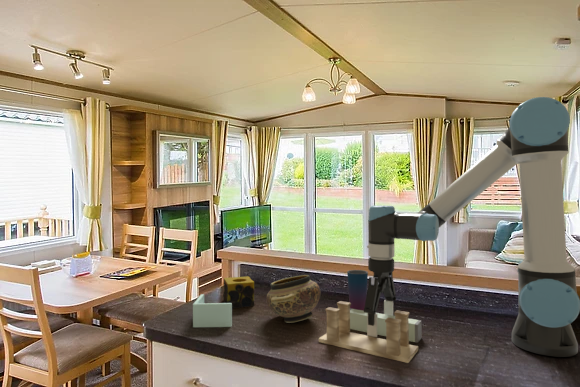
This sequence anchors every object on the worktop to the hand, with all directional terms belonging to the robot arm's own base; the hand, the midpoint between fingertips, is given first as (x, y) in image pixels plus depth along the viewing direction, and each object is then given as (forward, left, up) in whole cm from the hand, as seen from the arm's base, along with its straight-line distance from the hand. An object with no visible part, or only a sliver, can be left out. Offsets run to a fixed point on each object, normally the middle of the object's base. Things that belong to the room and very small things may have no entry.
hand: (380, 328), depth 114 cm
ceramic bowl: (+28, +5, -1) cm, 28 cm away
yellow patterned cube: (+54, +2, -1) cm, 54 cm away
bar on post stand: (0, +12, -1) cm, 12 cm away
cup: (+12, -10, -1) cm, 15 cm away
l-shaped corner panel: (+49, +19, -1) cm, 53 cm away
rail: (0, 0, -1) cm, 1 cm away
